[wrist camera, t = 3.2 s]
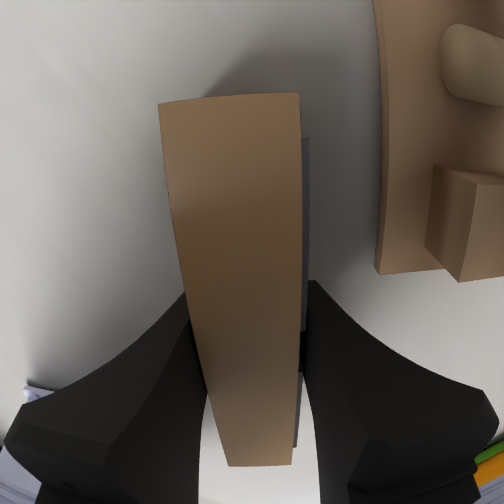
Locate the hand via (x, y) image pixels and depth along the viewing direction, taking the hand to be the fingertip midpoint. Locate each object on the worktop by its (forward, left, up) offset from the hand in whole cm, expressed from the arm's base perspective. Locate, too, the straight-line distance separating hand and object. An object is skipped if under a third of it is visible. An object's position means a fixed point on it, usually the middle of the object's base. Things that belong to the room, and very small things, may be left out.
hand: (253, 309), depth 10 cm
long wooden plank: (0, 0, -1) cm, 1 cm away
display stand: (+8, +8, -1) cm, 11 cm away
